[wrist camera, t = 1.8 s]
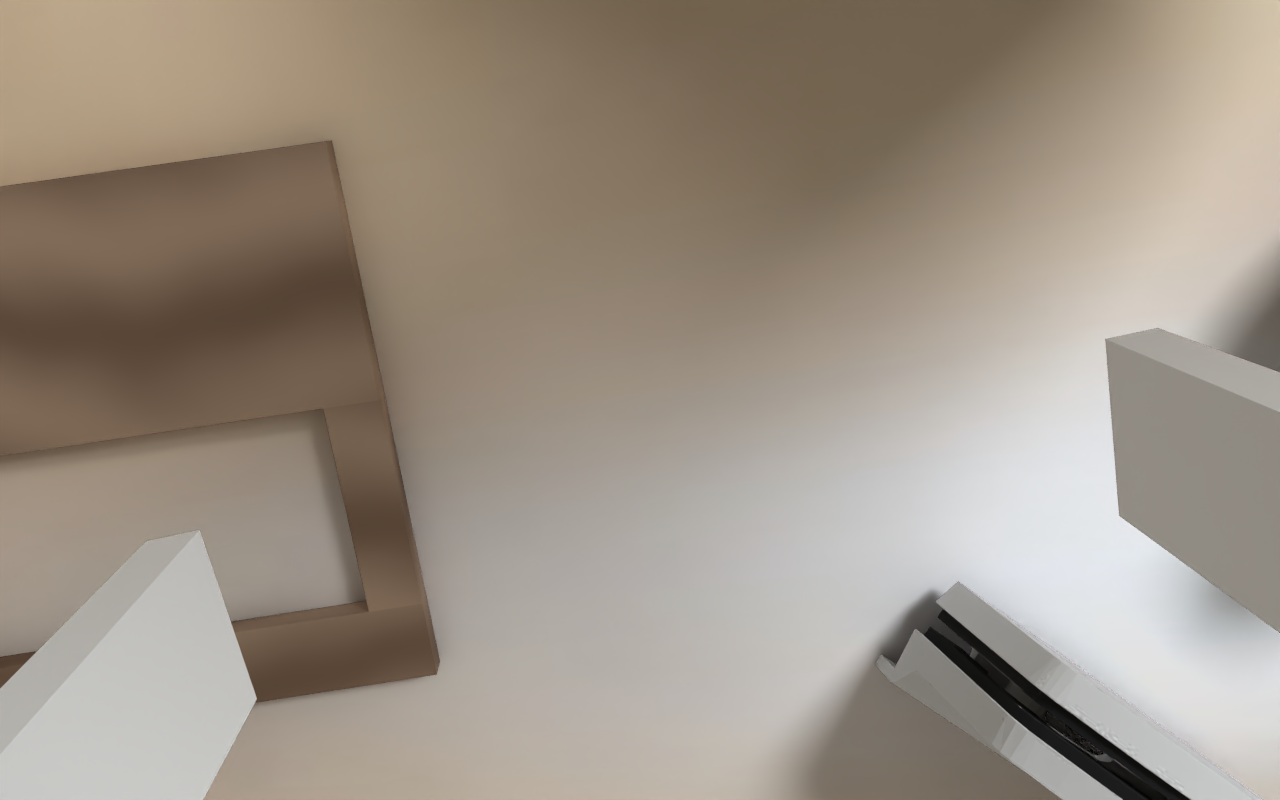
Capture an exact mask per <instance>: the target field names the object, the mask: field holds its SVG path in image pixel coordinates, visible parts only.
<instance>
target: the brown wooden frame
mask: <svg viewBox="0 0 1280 800" xmlns="http://www.w3.org/2000/svg"><path fill="white" fill-rule="evenodd" d="M317 409H323V410H324V414H325V419H326V423H327V428H328V432H329V437H330V441H331V446H332V450H333V454H334V459H335V463H336V468H337V472H338V477H339V481H340V486H341V490H342V494H343V499H344V503H345V508H346V512H347V517H348V521H349V526H350V530H351V534H352V539H353V543H354V548H355V552H356V557H357V561H358V566H359V570H360V575H361V579H362V583H363V588H364V592H365V597H366V601H364V602H357V603H351V604H344V605H338V606H331V607H325V608H318V609H311V610H305V611H298V612H292V613H285V614H279V615H272V616H266V617H259V618H253V619H246V620H239V621H233V622H231V624H232V627H233V630H234V633H235V636H236V639H237V641H238V644H239V647H240V650H241V653H242V656H243V659H244V662H245V665H246V668H247V671H248V674H249V677H250V680H251V683H252V686H253V688H254V691H255V694H256V697H257V700H256V702H262V701H269V700H275V699H282V698H288V697H295V696H301V695H307V694H314V693H320V692H327V691H333V690H340V689H346V688H353V687H359V686H365V685H372V684H378V683H385V682H391V681H398V680H404V679H411V678H417V677H423V676H430V675H436V674H437V671H438V667H439V663H440V660H439V655H438V650H437V645H436V640H435V636H434V631H433V626H432V621H431V616H430V612H429V607H428V602H427V597H426V592H425V587H424V583H423V578H422V573H421V568H420V563H419V559H418V554H417V549H416V544H415V539H414V534H413V530H412V525H411V520H410V515H409V510H408V506H407V501H406V496H405V491H404V486H403V481H402V477H401V472H400V467H399V462H398V457H397V453H396V448H395V443H394V438H393V433H392V428H391V424H390V419H389V414H388V409H387V404H386V400H385V395H384V390H383V385H382V380H381V376H380V371H379V366H378V361H377V356H376V351H375V347H374V342H373V337H372V332H371V327H370V323H369V318H368V313H367V308H366V303H365V298H364V294H363V289H362V284H361V279H360V274H359V270H358V265H357V260H356V255H355V250H354V245H353V241H352V236H351V231H350V226H349V221H348V217H347V212H346V207H345V202H344V197H343V192H342V188H341V183H340V178H339V173H338V168H337V164H336V159H335V154H334V149H333V144H332V141H325V142H318V143H311V144H303V145H296V146H289V147H282V148H275V149H268V150H260V151H253V152H246V153H239V154H232V155H224V156H217V157H210V158H203V159H196V160H188V161H181V162H174V163H167V164H160V165H153V166H145V167H138V168H131V169H124V170H117V171H109V172H102V173H95V174H88V175H81V176H74V177H66V178H59V179H52V180H45V181H38V182H30V183H23V184H16V185H9V186H2V187H0V456H4V455H11V454H17V453H24V452H31V451H38V450H45V449H51V448H58V447H65V446H72V445H79V444H86V443H92V442H99V441H106V440H113V439H120V438H126V437H133V436H140V435H147V434H154V433H160V432H167V431H174V430H181V429H188V428H194V427H201V426H208V425H215V424H222V423H228V422H235V421H242V420H249V419H256V418H262V417H269V416H276V415H283V414H290V413H296V412H303V411H310V410H317ZM36 652H37V651H36ZM36 652H30V653H23V654H17V655H10V656H4V657H0V688H1V687H2V686H3V685H4V684H5V683H6V682H7V681H8V680H9V679H10V678H11V677H12V676H13V675H14V674H15V673H16V672H17V671H18V670H19V669H20V668H21V667H22V666H23V665H24V664H25V663H26V662H27V661H28V660H29V659H30V658H31V657H32V656H33V655H34V654H35V653H36ZM256 702H255V703H256Z"/></svg>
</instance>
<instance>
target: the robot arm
mask: <svg viewBox="0 0 1280 800" xmlns="http://www.w3.org/2000/svg"><path fill="white" fill-rule="evenodd" d="M1105 341H1106V354H1107V366H1108V379H1109V392H1110V405H1111V418H1112V430H1113V443H1114V456H1115V469H1116V482H1117V494H1118V507H1119V516H1120V517H1122V518H1123V519H1124V520H1126V521H1127V522H1129V523H1130V524H1131V525H1133V526H1134V527H1135V528H1137V529H1138V530H1139V531H1141V532H1142V533H1144V534H1145V535H1146V536H1148V537H1149V538H1150V539H1152V540H1153V541H1155V542H1156V543H1157V544H1159V545H1160V546H1161V547H1163V548H1164V549H1165V550H1167V551H1168V552H1170V553H1171V554H1172V555H1174V556H1175V557H1176V558H1178V559H1179V560H1181V561H1182V562H1183V563H1185V564H1186V565H1187V566H1189V567H1190V568H1192V569H1193V570H1194V571H1196V572H1197V573H1198V574H1200V575H1201V576H1202V577H1204V578H1205V579H1207V580H1208V581H1209V582H1211V583H1212V584H1213V585H1215V586H1216V587H1218V588H1219V589H1220V590H1222V591H1223V592H1224V593H1226V594H1227V595H1229V596H1230V597H1231V598H1233V599H1234V600H1235V601H1237V602H1238V603H1239V604H1241V605H1242V606H1244V607H1245V608H1246V609H1248V610H1249V611H1250V612H1252V613H1253V614H1255V615H1256V616H1257V617H1259V618H1260V619H1261V620H1263V621H1264V622H1266V623H1267V624H1268V625H1270V626H1271V627H1272V628H1274V629H1275V630H1276V631H1278V632H1279V633H1280V372H1277V371H1275V370H1272V369H1269V368H1266V367H1264V366H1261V365H1258V364H1255V363H1253V362H1250V361H1247V360H1244V359H1242V358H1239V357H1236V356H1233V355H1231V354H1228V353H1225V352H1222V351H1220V350H1217V349H1214V348H1211V347H1209V346H1206V345H1203V344H1200V343H1198V342H1195V341H1192V340H1189V339H1187V338H1184V337H1181V336H1178V335H1176V334H1173V333H1170V332H1167V331H1165V330H1162V329H1159V328H1155V329H1150V330H1146V331H1141V332H1136V333H1131V334H1127V335H1122V336H1117V337H1112V338H1108V339H1105ZM256 700H257V697H256V694H255V691H254V688H253V686H252V683H251V680H250V677H249V674H248V671H247V668H246V665H245V662H244V659H243V656H242V653H241V650H240V647H239V644H238V641H237V639H236V636H235V633H234V630H233V627H232V624H231V621H230V618H229V615H228V612H227V609H226V606H225V603H224V600H223V597H222V594H221V592H220V589H219V586H218V583H217V580H216V577H215V574H214V571H213V568H212V565H211V562H210V559H209V556H208V553H207V550H206V547H205V545H204V542H203V539H202V536H201V533H200V530H196V531H192V532H187V533H182V534H177V535H173V536H168V537H163V538H158V539H154V540H149V541H146V542H145V543H144V544H143V545H142V546H141V547H140V548H139V549H138V550H137V551H136V552H135V553H134V554H133V555H132V556H131V557H130V558H129V559H128V560H127V561H126V562H125V563H124V564H123V565H122V566H121V567H120V568H119V569H118V570H117V571H116V572H115V573H114V574H113V575H112V576H111V577H110V578H109V579H108V580H107V581H106V582H105V583H104V584H103V585H102V586H101V587H100V588H99V589H98V590H97V591H96V592H95V593H94V594H93V595H92V596H91V597H90V598H89V599H88V600H87V601H86V602H85V603H84V604H83V605H82V606H81V607H80V608H79V609H78V610H77V611H76V612H75V613H74V614H73V616H72V617H71V618H70V619H69V620H68V621H67V622H66V623H65V624H64V625H63V626H62V627H61V628H60V629H59V630H58V631H57V632H56V633H55V634H54V635H53V636H52V637H51V638H50V639H49V640H48V641H47V642H46V643H45V644H44V645H43V646H42V647H41V648H40V649H39V650H38V651H37V652H36V653H35V654H34V655H33V656H32V657H31V658H30V659H29V660H28V661H27V662H26V663H25V664H24V665H23V666H22V667H21V668H20V669H19V670H18V671H17V672H16V673H15V674H14V675H13V676H12V677H11V678H10V679H9V680H8V681H7V682H6V683H5V684H4V685H3V686H2V687H1V688H0V800H203V799H204V797H205V796H206V794H207V792H208V790H209V788H210V786H211V784H212V782H213V781H214V779H215V777H216V775H217V773H218V771H219V769H220V767H221V766H222V764H223V762H224V760H225V758H226V756H227V754H228V752H229V751H230V749H231V747H232V745H233V743H234V741H235V739H236V737H237V736H238V734H239V732H240V730H241V728H242V726H243V724H244V722H245V721H246V719H247V717H248V715H249V713H250V711H251V709H252V707H253V706H254V704H255V702H256Z"/></svg>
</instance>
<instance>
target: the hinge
mask: <svg viewBox="0 0 1280 800" xmlns="http://www.w3.org/2000/svg"><path fill="white" fill-rule="evenodd" d="M936 603H937V604H938V605H939V606H941V607H942V608H943V610H942V612H941V613H940V614H939V616H938V618H939V619H940V620H941V621H942V622H943V623H945V624H946V625H947V626H948V627H949V628H950V629H952V630H953V631H954V632H955V633H956V634H957V635H958V636H960V637H961V638H962V639H963V640H964V641H965V642H967V643H968V644H969V645H970V646H971V647H972V651H971V655H970V656H969V655H968V654H967V653H966V652H965V651H964V650H963V649H961V648H960V647H959V646H957V645H956V644H954V643H953V642H952V641H950V640H949V639H947V638H946V637H944V636H943V635H942V634H940V633H939V632H937V631H936V630H934V629H933V628H932V627H930V628H929V629H928V630H927V632H926V633H925V634H922V633H921V632H919V631H918V630H916V629H915V630H914V632H913V634H912V636H911V637H910V639H909V641H908V643H907V645H906V647H905V649H904V651H903V653H902V655H901V657H900V659H899V661H898V662H897V664H895V663H894V662H892V661H891V660H889V659H888V658H886V657H885V656H883V655H882V654H881V655H880V657H879V658H878V660H877V662H876V664H875V665H876V666H877V667H878V668H879V669H880V670H881V672H882V673H883V674H884V675H885V676H886V678H887V679H888V680H889V681H890V682H891V683H893V684H894V685H896V686H897V687H899V688H900V689H902V690H903V691H905V692H906V693H908V694H909V695H911V696H912V697H914V698H915V699H917V700H918V701H920V702H921V703H923V704H924V705H926V706H927V707H929V708H930V709H932V710H933V711H935V712H936V713H938V714H939V715H941V716H942V717H943V718H945V719H946V720H948V721H949V722H951V723H952V724H954V725H955V726H957V727H958V728H960V729H961V730H963V731H964V732H966V733H967V734H969V735H970V736H972V737H973V738H975V739H976V740H978V741H979V742H981V743H982V744H984V745H985V746H987V747H988V748H990V749H991V750H993V751H994V752H996V753H997V754H999V755H1000V756H1002V757H1003V758H1004V759H1006V760H1007V761H1009V762H1010V763H1012V764H1013V765H1015V766H1016V767H1018V768H1019V769H1021V770H1022V771H1024V772H1025V773H1027V774H1028V775H1030V776H1031V777H1032V778H1034V779H1035V780H1036V781H1038V782H1039V783H1041V784H1042V785H1043V786H1045V787H1046V788H1047V789H1049V790H1050V791H1051V792H1053V793H1054V794H1055V795H1057V796H1058V797H1059V798H1061V799H1062V800H1263V799H1262V798H1260V797H1259V796H1258V795H1257V794H1255V793H1254V792H1253V791H1251V790H1250V789H1249V788H1247V787H1246V786H1245V785H1244V784H1242V783H1241V782H1239V781H1238V780H1237V779H1235V778H1234V777H1232V776H1231V775H1230V774H1228V773H1227V772H1225V771H1224V770H1223V769H1221V768H1220V767H1218V766H1217V765H1216V764H1214V763H1213V762H1211V761H1210V760H1209V759H1207V758H1206V757H1204V756H1203V755H1202V754H1200V753H1199V752H1197V751H1196V750H1195V749H1193V748H1192V747H1190V746H1189V745H1187V744H1186V743H1185V742H1183V741H1182V740H1180V739H1179V738H1178V737H1176V736H1175V735H1173V734H1172V733H1171V732H1169V731H1168V730H1166V729H1165V728H1164V727H1162V726H1161V725H1159V724H1158V723H1157V722H1155V721H1154V720H1152V719H1151V718H1150V717H1148V716H1147V715H1145V714H1144V713H1143V712H1141V711H1140V710H1138V709H1137V708H1136V707H1134V706H1133V705H1131V704H1130V703H1128V702H1127V701H1126V700H1124V699H1123V698H1121V697H1120V696H1119V695H1117V694H1116V693H1114V692H1113V691H1112V690H1110V689H1109V688H1107V687H1106V686H1105V685H1103V684H1102V683H1100V682H1099V681H1098V680H1096V679H1095V678H1093V677H1092V676H1091V675H1089V674H1088V673H1086V672H1085V671H1084V670H1082V669H1081V668H1079V667H1078V666H1077V665H1075V664H1074V663H1072V662H1071V661H1069V660H1068V659H1067V658H1065V657H1064V656H1062V655H1061V654H1060V653H1058V652H1057V651H1055V650H1054V649H1053V648H1051V647H1050V646H1048V645H1047V644H1046V643H1044V642H1043V641H1041V640H1040V639H1039V638H1037V637H1036V636H1034V635H1033V634H1032V633H1030V632H1029V631H1027V630H1026V629H1025V628H1023V627H1022V626H1020V625H1019V624H1018V623H1016V622H1015V621H1013V620H1012V619H1011V618H1009V617H1008V616H1006V615H1005V614H1003V613H1002V612H1001V611H999V610H998V609H996V608H995V607H994V606H992V605H991V604H989V603H988V602H987V601H985V600H984V599H982V598H981V597H980V596H978V595H977V594H975V593H974V592H973V591H971V590H970V589H968V588H967V587H966V586H964V585H963V584H961V583H960V582H959V581H958V582H957V583H956V584H955V585H953V586H952V587H951V588H950V589H949V590H948V591H947V592H946V593H944V594H943V595H942V596H941V597H940V598H939V599H938V600H937V601H936ZM1046 711H1048V712H1049V713H1051V714H1052V715H1053V716H1055V717H1056V718H1057V719H1059V720H1060V721H1061V722H1063V723H1064V724H1066V725H1067V726H1068V727H1070V728H1071V729H1072V730H1074V731H1075V732H1076V733H1078V734H1079V735H1080V736H1082V737H1083V738H1085V739H1086V740H1087V741H1089V742H1090V743H1091V744H1093V745H1094V746H1095V747H1097V748H1098V749H1100V750H1101V751H1102V752H1104V753H1105V754H1102V755H1095V754H1091V753H1089V752H1088V751H1086V750H1085V749H1083V748H1082V747H1080V746H1079V745H1077V744H1076V743H1075V742H1073V741H1072V740H1070V739H1069V738H1067V737H1066V736H1064V735H1063V734H1061V733H1060V732H1058V731H1057V730H1055V729H1054V728H1053V727H1051V726H1050V725H1049V724H1047V722H1046V720H1045V713H1046Z"/></svg>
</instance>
